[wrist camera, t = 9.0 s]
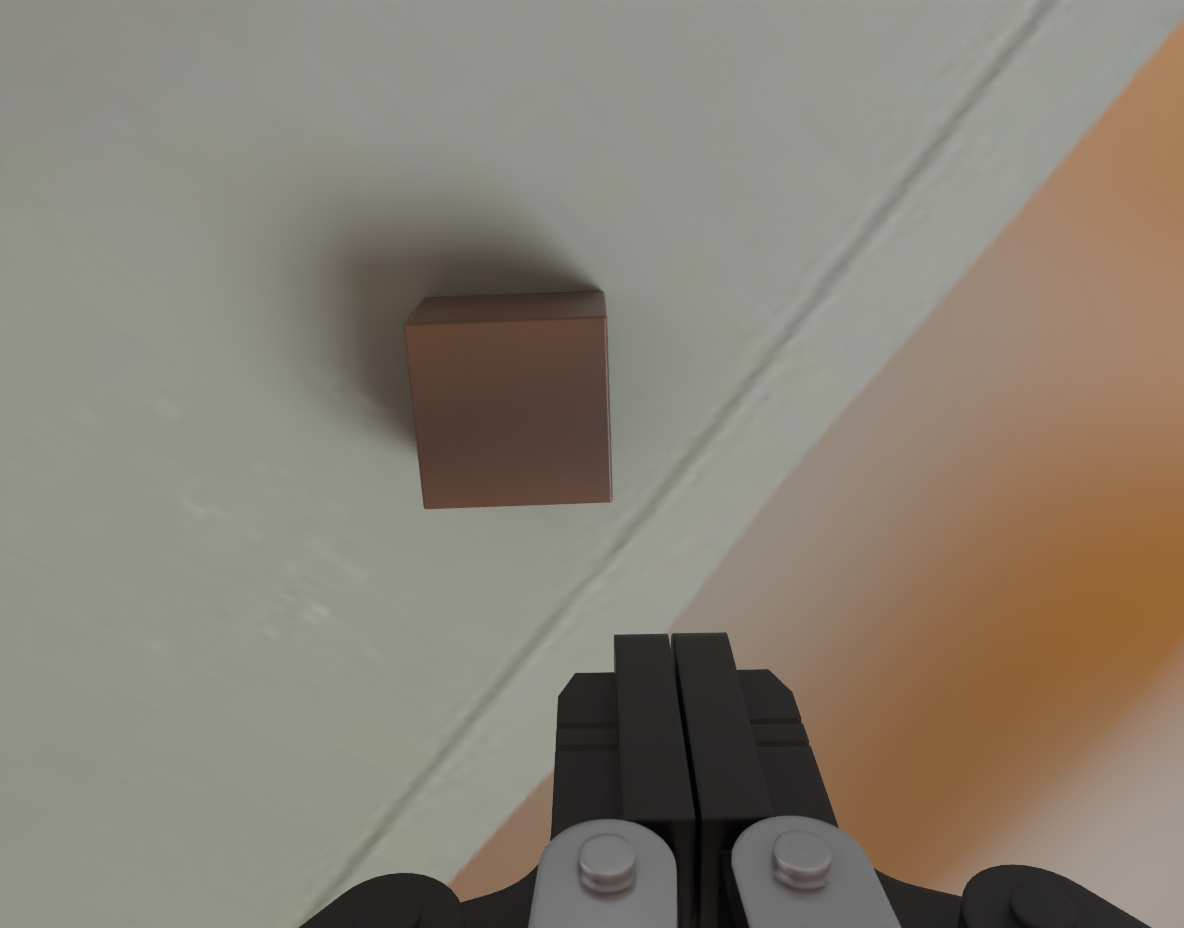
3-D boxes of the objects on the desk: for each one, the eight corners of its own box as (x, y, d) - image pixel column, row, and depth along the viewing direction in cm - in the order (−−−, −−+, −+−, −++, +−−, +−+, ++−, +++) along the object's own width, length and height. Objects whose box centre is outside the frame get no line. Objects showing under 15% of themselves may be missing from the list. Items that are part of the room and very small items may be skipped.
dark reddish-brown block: (423, 297, 26) (402, 324, 24) (603, 290, 26) (606, 316, 24) (440, 465, 28) (423, 510, 25) (609, 458, 28) (612, 503, 25)
